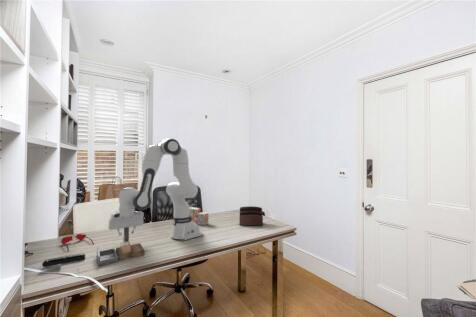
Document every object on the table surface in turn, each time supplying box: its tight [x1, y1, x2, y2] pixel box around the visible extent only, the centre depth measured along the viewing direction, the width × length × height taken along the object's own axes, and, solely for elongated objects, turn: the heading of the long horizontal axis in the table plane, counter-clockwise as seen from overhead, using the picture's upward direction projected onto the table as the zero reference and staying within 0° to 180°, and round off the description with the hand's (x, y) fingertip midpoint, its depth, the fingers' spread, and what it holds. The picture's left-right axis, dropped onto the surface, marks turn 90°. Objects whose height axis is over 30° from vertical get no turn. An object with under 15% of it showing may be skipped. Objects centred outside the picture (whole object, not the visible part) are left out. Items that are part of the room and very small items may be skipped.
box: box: [96, 246, 119, 267], centre depth 123 cm, size 9×15×5 cm, turn 35°
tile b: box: [122, 244, 131, 253], centre depth 126 cm, size 4×4×2 cm
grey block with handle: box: [122, 227, 131, 245], centre depth 144 cm, size 2×14×11 cm, turn 35°
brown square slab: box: [115, 242, 145, 261], centre depth 130 cm, size 13×12×3 cm
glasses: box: [60, 232, 95, 252], centre depth 144 cm, size 14×16×5 cm
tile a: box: [119, 242, 129, 250], centre depth 131 cm, size 4×4×2 cm
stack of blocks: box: [189, 206, 209, 226], centre depth 196 cm, size 21×6×12 cm, turn 56°
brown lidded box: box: [238, 205, 264, 226], centre depth 194 cm, size 10×20×14 cm, turn 88°
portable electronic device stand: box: [41, 252, 86, 268], centre depth 119 cm, size 18×3×3 cm, turn 121°
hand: (126, 234), depth 144 cm, fingers open, 6 cm apart
